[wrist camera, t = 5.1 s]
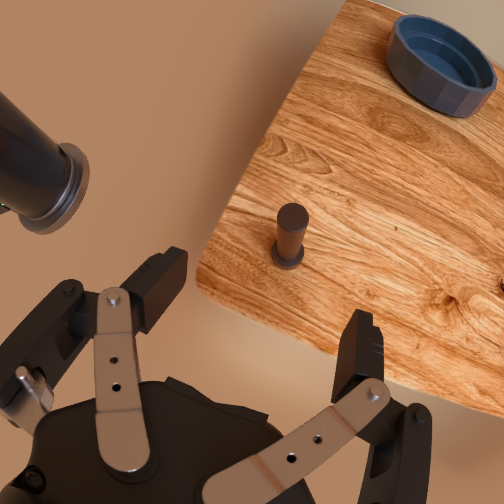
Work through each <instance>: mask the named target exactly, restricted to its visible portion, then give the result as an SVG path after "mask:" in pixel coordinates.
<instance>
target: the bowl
mask: <svg viewBox="0 0 504 504" xmlns="http://www.w3.org/2000/svg"><path fill="white" fill-rule="evenodd" d="M385 59H386V64H387V66H388V67H389V69H390V71H391V72H392V74H393V76H394V78H395V79H396V80H397V81H398V82H399V83H400V84H401V85H402V86H403V87H404V88H405V89H406V90H407V91H408V92H409V93H410V94H412V95H413V96H415V97H416V98H418V99H419V100H421V101H422V102H424V103H425V104H427V105H428V106H429V107H432V108H433V109H436V110H438V111H441V112H443V113H446V114H448V115H450V116H456V117H470V116H472V115H474V114H475V113H477V112H478V111H479V110H480V109H481V108H482V106H483V105H484V104H485V102H486V101H487V100H488V99H489V97H490V96H491V95H492V93H493V92H494V91H495V89H496V84H497V77H496V74H495V71H494V69H493V66H492V65H491V63H490V62H489V60H488V59H487V58H486V56H485V55H484V54H483V53H482V51H481V50H480V49H479V48H478V47H477V46H476V45H475V44H473V43H472V42H471V41H470V40H469V39H468V38H467V37H465V36H464V35H462V34H461V33H459V32H458V31H456V30H455V29H453V28H451V27H450V26H448V25H446V24H444V23H441V22H439V21H437V20H434V19H432V18H429V17H424V16H419V15H404V16H400V17H399V18H398V19H397V20H396V21H395V22H394V24H393V27H392V30H391V34H390V37H389V40H388V43H387V46H386V49H385Z"/></svg>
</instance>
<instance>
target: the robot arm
mask: <svg viewBox="0 0 504 504" xmlns="http://www.w3.org/2000/svg"><path fill="white" fill-rule="evenodd" d="M57 144H58V143H57ZM57 144H56V143H55V142H54V141H53V140H52V139H51V138H50V137H49V136H48V135H47V134H45V133H44V132H43V131H42V130H41V129H40V128H39V127H38V126H37V125H35V124H34V123H33V122H32V121H31V120H30V119H29V118H28V117H27V116H26V115H25V114H24V113H22V112H21V111H20V110H19V109H18V108H17V107H16V106H15V105H14V104H13V103H12V102H11V101H10V100H9V99H8V98H7V97H6V96H5V95H3V93H1V92H0V214H3V213H5V212H7V211H10V210H12V211H13V212H15V213H17V214H19V215H21V216H22V215H24V216H25V217H27V218H28V219H30V220H33V221H42V220H45V219H47V218H49V217H50V216H51V215H53V214H54V213H55V212H56V211H57V210H58V209H59V208H60V207H61V205H62V204H63V203H64V201H65V199H66V198H67V196H68V194H69V192H70V190H71V187H72V184H73V181H74V176H75V163H74V160H73V158H72V156H71V155H70V154H69V153H68V152H67V151H65V150H64V149H63V148H62V147H61V146H60V145H59V144H58V145H57ZM187 260H188V253H187V251H185V250H182V249H179V248H176V247H174V246H171V247H170V248H169V249H168V250H167V251H166V252H165V253H164V254H161V253H158V254H155V255H153V256H151V257H149V258H148V259H147V260H146V261H145V262H144V263H143V265H141V266H140V267H139V268H138V270H136V271H135V272H134V273H133V274H132V275H131V276H130V277H129V278H128V279H127V280H126V281H125V282H124V283H123V284H122V285H121V286H120V287H110V288H107V289H105V290H103V291H102V292H101V293H95V292H89V291H84V288H83V285H82V283H81V282H80V281H78V280H74V279H68V280H64V281H62V282H60V283H59V284H58V285H57V286H56V287H55V288H54V289H53V290H52V291H51V292H50V293H49V294H48V295H47V296H46V297H45V298H44V299H43V300H42V301H41V302H40V303H39V304H38V305H37V306H36V307H35V308H34V309H33V310H32V311H31V312H30V313H29V314H28V316H27V317H26V318H25V319H24V320H23V321H22V322H21V323H20V324H19V325H18V326H17V327H16V329H15V330H14V331H13V332H12V333H11V334H10V335H9V336H8V338H7V339H6V340H5V341H4V342H3V343H2V344H1V346H0V414H1V415H2V416H3V417H4V418H5V419H7V420H8V421H9V422H10V423H11V424H12V425H13V426H15V427H18V428H22V429H23V430H25V432H27V433H28V434H29V435H31V436H32V437H33V445H32V452H31V456H30V459H29V462H28V464H27V466H26V468H25V469H24V470H23V471H22V472H21V473H20V474H19V475H18V476H17V477H16V478H14V479H13V480H12V481H11V482H10V483H8V484H7V485H6V486H5V487H4V488H3V489H2V491H1V492H0V504H316V503H315V501H314V499H313V497H312V494H311V492H310V490H309V488H308V486H307V484H306V482H305V480H304V477H305V476H307V475H308V474H309V473H310V472H312V471H313V470H315V469H316V468H317V467H319V466H320V465H321V464H322V463H324V462H325V461H326V460H327V459H328V458H330V457H331V456H332V455H333V454H335V453H336V452H337V451H338V450H339V449H341V448H342V447H343V446H344V445H345V444H346V443H348V442H349V441H350V440H351V439H352V438H353V437H354V436H358V437H359V438H361V439H363V440H365V441H366V442H368V443H370V449H369V453H368V459H367V464H366V469H365V473H364V478H363V482H362V487H361V491H360V495H359V499H358V503H357V504H426V499H427V492H428V483H429V473H430V461H431V445H432V416H431V413H430V411H429V410H428V409H427V407H425V406H424V405H422V404H420V403H412V404H410V405H409V406H408V407H406V406H404V405H402V404H401V403H399V402H397V401H395V400H394V399H393V398H391V397H390V391H389V389H388V387H387V386H386V384H385V383H384V355H383V354H384V348H383V346H384V341H383V335H382V333H381V331H380V328H379V327H376V326H373V314H372V313H369V312H366V311H363V310H360V309H356V310H355V312H354V313H353V315H352V317H351V319H350V321H349V322H348V324H347V326H346V328H345V329H344V331H343V333H342V336H341V339H340V343H339V350H338V357H337V365H336V372H335V379H334V385H333V391H332V398H331V403H334V405H333V406H328V407H327V408H325V409H324V410H323V411H321V412H320V413H318V414H317V415H316V416H314V417H313V418H311V419H310V420H309V421H307V422H306V423H304V424H303V425H301V426H300V427H298V428H297V429H295V430H294V431H292V432H291V433H289V434H288V435H286V436H285V437H284V436H283V435H282V434H281V432H280V431H278V429H276V428H275V427H274V426H272V425H271V424H270V423H268V422H267V419H268V416H269V415H267V414H264V413H261V412H258V411H255V410H252V409H249V408H247V407H244V406H236V405H229V404H221V403H216V402H213V401H212V400H210V399H209V398H207V397H206V396H204V395H203V394H202V393H200V392H199V391H197V390H196V389H195V388H193V387H192V386H189V385H187V384H185V383H183V382H180V381H178V380H176V379H174V378H172V377H167V379H166V381H165V382H160V381H145V382H142V381H141V376H140V370H139V363H138V356H137V348H136V339H135V336H136V334H137V333H138V332H139V331H140V332H142V333H144V334H148V332H149V331H150V330H151V328H152V327H153V326H154V325H155V323H156V322H157V321H158V319H159V318H160V317H161V315H162V314H163V313H164V312H165V310H166V309H167V308H168V306H169V305H170V304H171V302H172V301H173V300H174V299H175V297H176V296H177V295H178V293H179V292H180V291H181V289H182V288H183V286H184V284H185V281H186V274H187ZM91 338H92V339H94V378H95V393H96V394H95V395H96V397H95V398H92V399H89V400H86V401H83V402H80V403H77V404H74V405H70V406H67V407H63V408H60V409H57V410H53V411H51V412H50V410H51V409H52V404H53V401H54V393H53V389H54V387H55V386H56V385H57V383H58V382H59V380H60V379H61V378H62V376H63V374H64V373H65V372H66V371H67V369H68V368H69V367H70V365H71V364H72V362H73V361H74V360H75V358H76V357H77V356H78V354H79V353H80V352H81V350H82V349H83V348H84V346H85V345H86V344H87V343H88V341H89V340H90V339H91Z"/></svg>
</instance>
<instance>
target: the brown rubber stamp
mask: <svg viewBox="0 0 504 504" xmlns="http://www.w3.org/2000/svg"><path fill="white" fill-rule="evenodd" d="M308 222H309V215H308V212H307V210H306V209H305V208H304V207H303V206H302V205H300V204H297V203H288V204H286V205H284V206H283V207H281V208H280V210H279V212H278V215H277V240H276V241H275V242H274V244H273V247H272V259H273V262H274V263H275V265H276V266H277V267H278V268H280V269H282V270H292V269H295V268H296V267H298V266H299V264H300V263H301V261H302V259H303V256H304V247H303V245H302V241H303V238H304V235H305V232H306V228H307V225H308Z"/></svg>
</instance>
